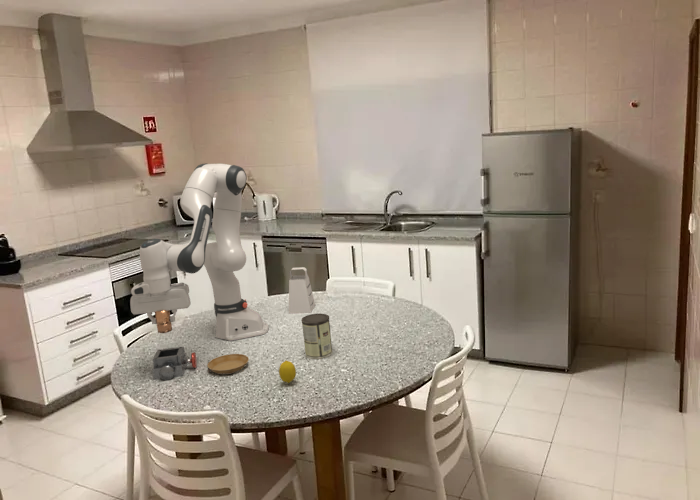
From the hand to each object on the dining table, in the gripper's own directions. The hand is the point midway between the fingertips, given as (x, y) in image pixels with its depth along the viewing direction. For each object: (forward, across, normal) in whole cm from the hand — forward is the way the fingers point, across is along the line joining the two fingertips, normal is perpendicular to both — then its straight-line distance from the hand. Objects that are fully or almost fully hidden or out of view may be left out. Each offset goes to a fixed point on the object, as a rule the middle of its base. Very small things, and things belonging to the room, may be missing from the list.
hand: (163, 322), depth 202 cm
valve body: (+19, -2, 0) cm, 19 cm away
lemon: (+19, -42, +24) cm, 52 cm away
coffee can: (+19, -54, +2) cm, 57 cm away
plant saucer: (+19, -21, +4) cm, 29 cm away
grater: (+19, -51, -54) cm, 77 cm away
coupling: (+3, 0, 0) cm, 3 cm away
